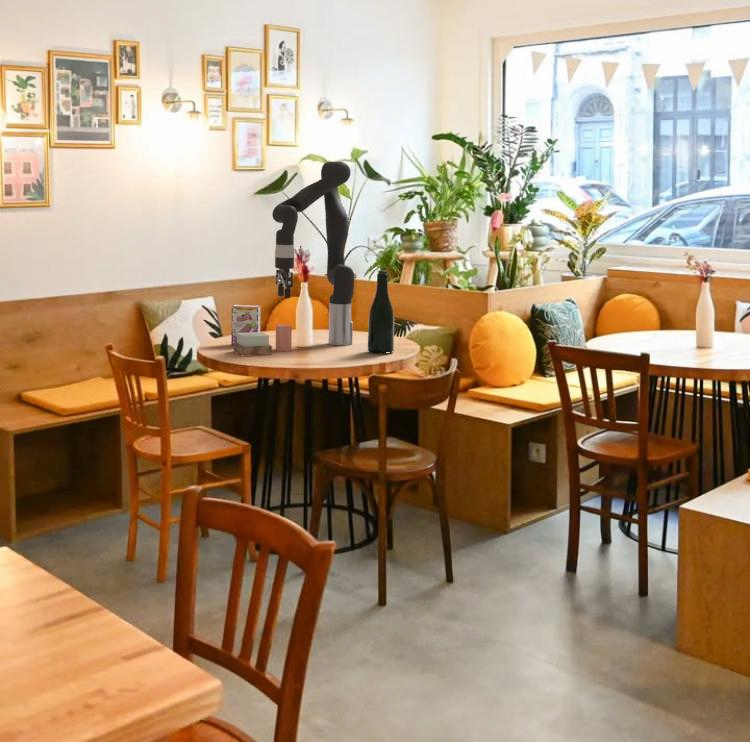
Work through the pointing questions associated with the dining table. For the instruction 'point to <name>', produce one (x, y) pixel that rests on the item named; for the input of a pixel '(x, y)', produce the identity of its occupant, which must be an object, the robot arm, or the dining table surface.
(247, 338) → the painted slab
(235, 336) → the candy bar box
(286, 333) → the brick-red block
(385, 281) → the beer bottle
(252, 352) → the tan shallow square tray
